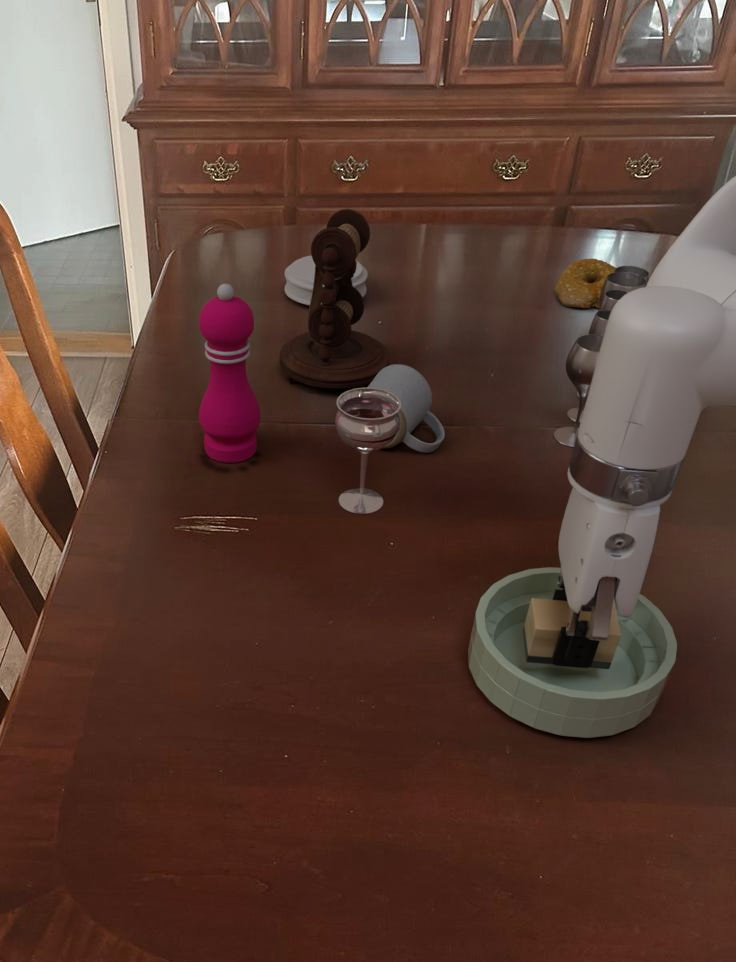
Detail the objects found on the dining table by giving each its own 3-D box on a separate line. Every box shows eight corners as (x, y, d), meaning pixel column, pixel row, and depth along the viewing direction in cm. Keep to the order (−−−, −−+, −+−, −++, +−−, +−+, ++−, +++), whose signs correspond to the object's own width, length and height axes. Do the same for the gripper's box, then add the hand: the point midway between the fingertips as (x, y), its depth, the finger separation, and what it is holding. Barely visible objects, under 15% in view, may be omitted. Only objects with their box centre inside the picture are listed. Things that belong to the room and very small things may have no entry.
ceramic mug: (345, 444, 111) (350, 386, 106) (371, 413, 117) (377, 356, 111) (429, 466, 108) (438, 408, 103) (451, 434, 113) (461, 376, 108)
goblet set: (590, 347, 130) (614, 251, 120) (632, 355, 128) (660, 258, 119) (544, 443, 111) (568, 338, 102) (592, 454, 109) (622, 348, 100)
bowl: (640, 619, 88) (656, 574, 84) (675, 752, 76) (696, 707, 72) (463, 605, 90) (472, 561, 86) (470, 734, 78) (480, 689, 74)
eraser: (602, 638, 82) (614, 604, 79) (609, 669, 79) (621, 635, 76) (522, 631, 83) (531, 597, 80) (526, 662, 80) (535, 628, 77)
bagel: (538, 299, 142) (545, 268, 138) (579, 279, 147) (586, 249, 144) (595, 319, 136) (603, 287, 133) (635, 298, 142) (644, 267, 138)
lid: (304, 274, 150) (305, 242, 146) (377, 287, 145) (380, 255, 142) (270, 304, 141) (270, 271, 138) (347, 318, 137) (349, 285, 134)
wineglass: (320, 491, 104) (324, 394, 96) (374, 478, 106) (383, 382, 98) (346, 524, 100) (353, 425, 91) (402, 510, 101) (413, 412, 93)
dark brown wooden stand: (298, 341, 132) (301, 192, 118) (399, 356, 128) (415, 205, 115) (264, 388, 122) (264, 232, 108) (373, 406, 118) (387, 247, 104)
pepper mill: (195, 463, 109) (185, 296, 95) (206, 432, 114) (197, 269, 100) (256, 467, 108) (254, 299, 94) (264, 435, 113) (263, 272, 100)
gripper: (702, 535, 62) (627, 720, 74) (655, 411, 74) (597, 587, 86) (586, 527, 62) (532, 711, 75) (559, 405, 74) (516, 581, 87)
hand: (567, 643), depth 80 cm, fingers closed on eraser, 4 cm apart
